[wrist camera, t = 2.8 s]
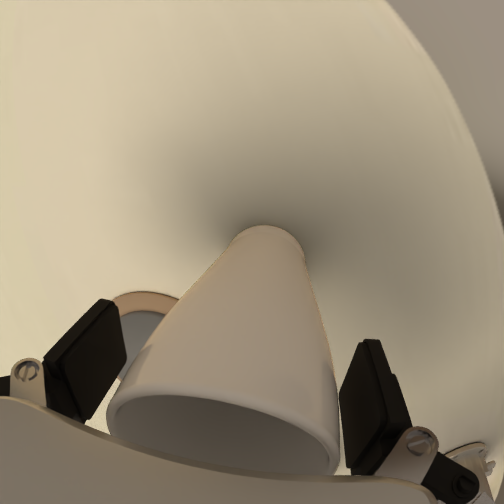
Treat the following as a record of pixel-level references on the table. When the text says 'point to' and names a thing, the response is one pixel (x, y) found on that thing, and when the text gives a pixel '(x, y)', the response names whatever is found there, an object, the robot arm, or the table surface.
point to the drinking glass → (238, 367)
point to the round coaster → (140, 320)
